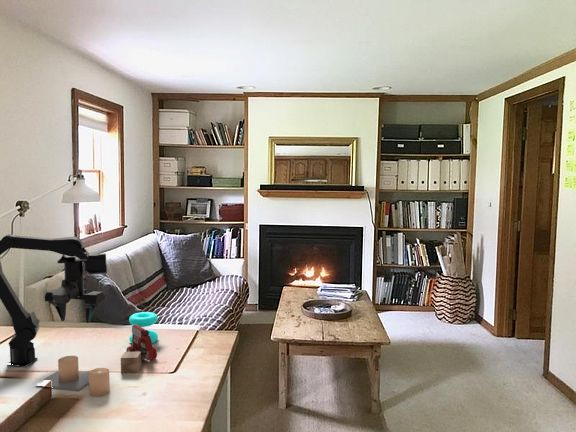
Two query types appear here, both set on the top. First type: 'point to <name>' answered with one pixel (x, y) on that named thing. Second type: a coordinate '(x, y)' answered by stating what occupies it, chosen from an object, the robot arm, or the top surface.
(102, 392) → the peach domed cap
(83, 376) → the slate board
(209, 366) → the top surface
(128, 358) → the walnut block
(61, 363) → the peach domed cylinder
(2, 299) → the robot arm
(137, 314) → the donuts
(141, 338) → the toy fire truck
